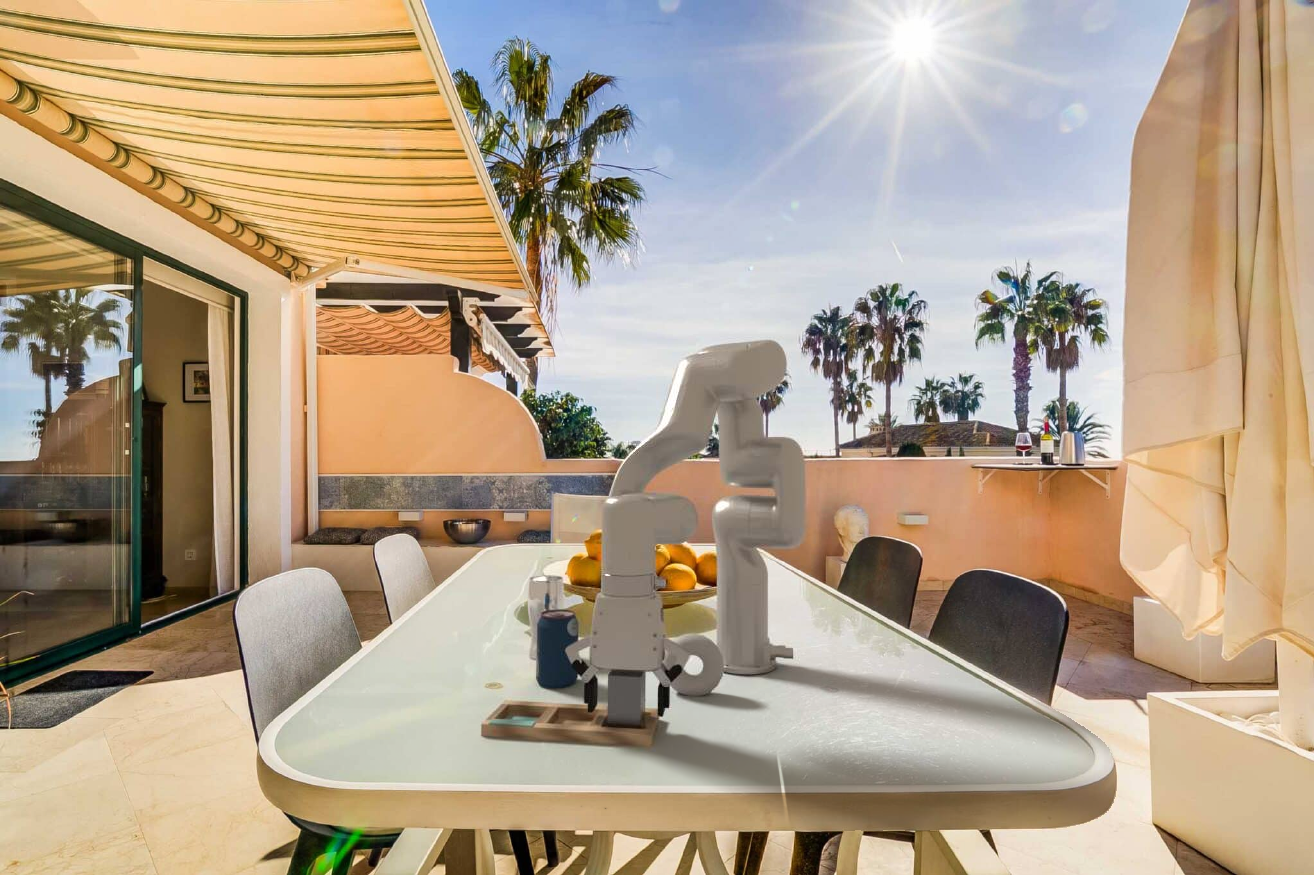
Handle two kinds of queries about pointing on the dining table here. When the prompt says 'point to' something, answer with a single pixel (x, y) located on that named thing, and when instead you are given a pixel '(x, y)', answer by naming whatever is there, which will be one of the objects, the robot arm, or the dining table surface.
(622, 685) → the block
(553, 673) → the soda can
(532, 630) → the beer glass
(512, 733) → the tray
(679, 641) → the donut
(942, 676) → the dining table surface
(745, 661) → the robot arm
